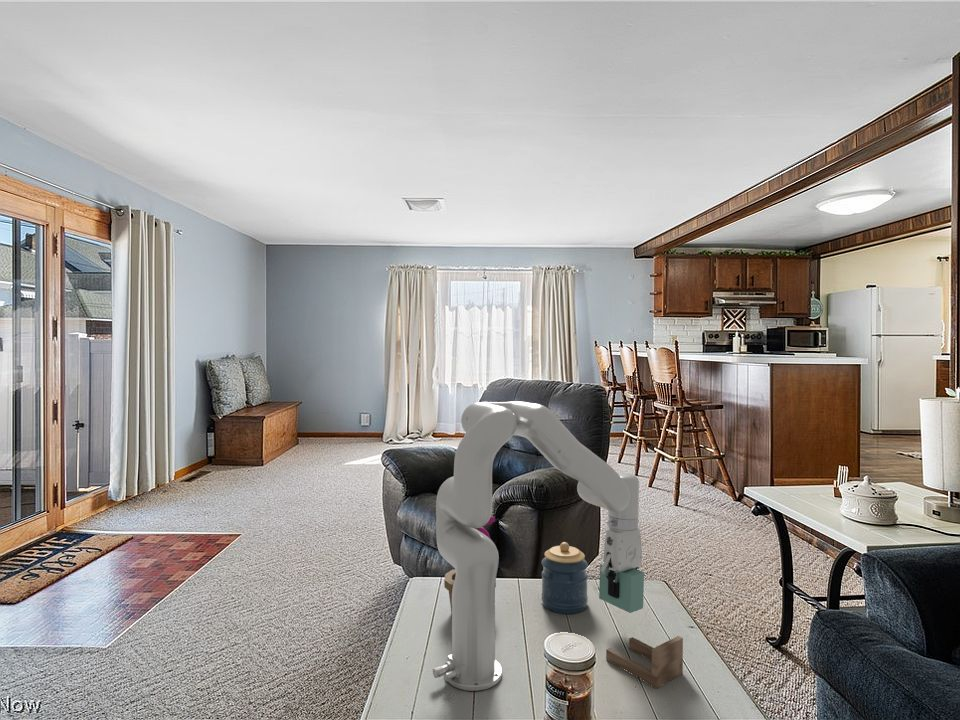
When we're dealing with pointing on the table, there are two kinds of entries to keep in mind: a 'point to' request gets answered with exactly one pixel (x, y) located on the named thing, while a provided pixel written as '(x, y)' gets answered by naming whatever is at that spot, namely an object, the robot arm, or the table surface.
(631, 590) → the teal rectangular block
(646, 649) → the book slot
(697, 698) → the table surface
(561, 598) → the canister
